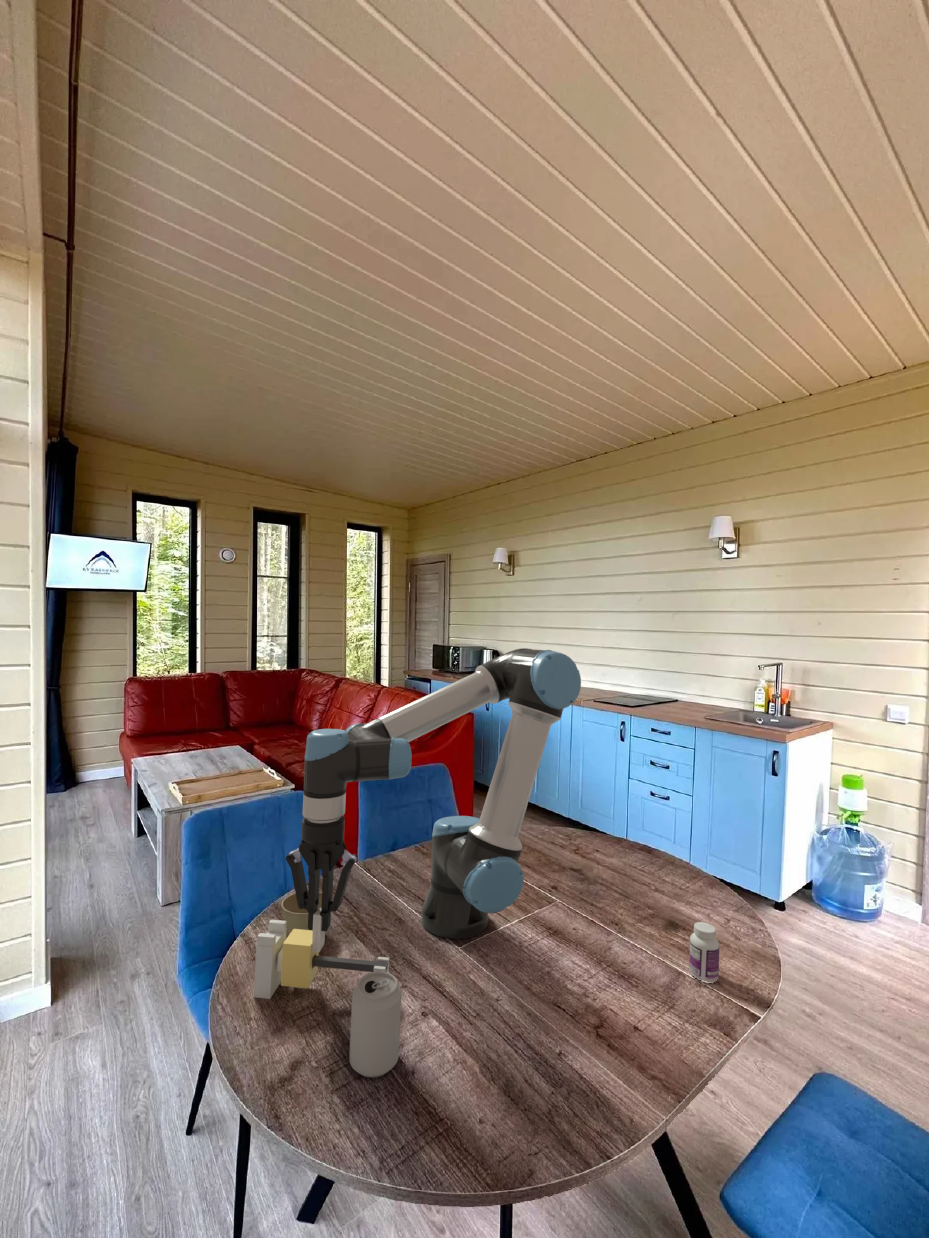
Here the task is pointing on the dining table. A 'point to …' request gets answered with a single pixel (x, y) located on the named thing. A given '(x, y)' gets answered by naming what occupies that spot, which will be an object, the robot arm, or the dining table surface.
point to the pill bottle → (704, 952)
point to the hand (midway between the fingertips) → (318, 947)
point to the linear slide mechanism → (271, 961)
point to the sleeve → (298, 959)
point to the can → (375, 1024)
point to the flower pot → (295, 913)
